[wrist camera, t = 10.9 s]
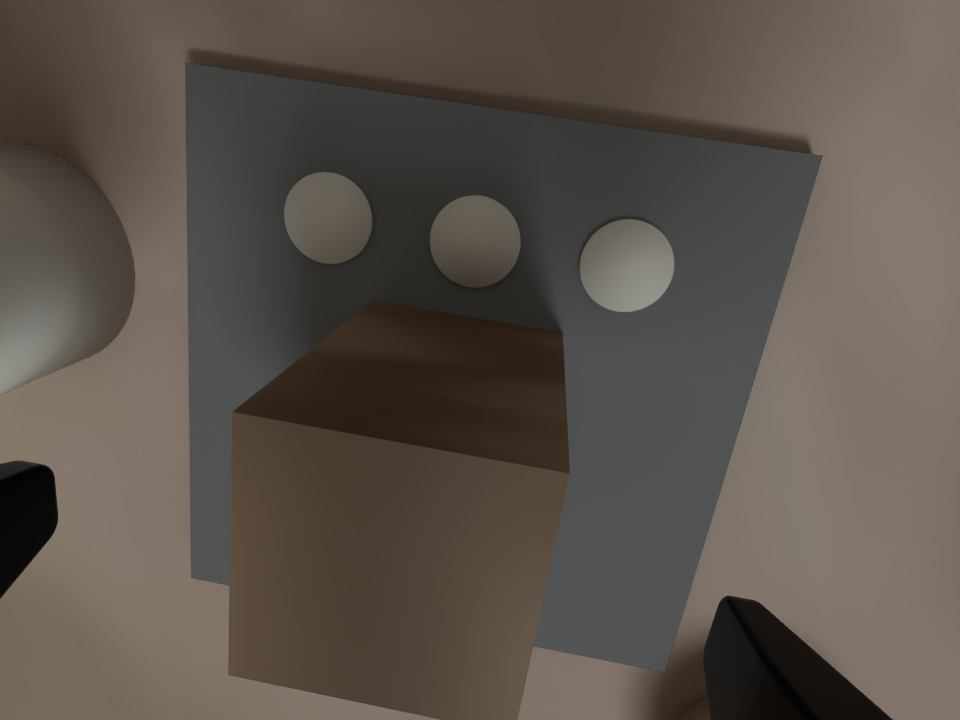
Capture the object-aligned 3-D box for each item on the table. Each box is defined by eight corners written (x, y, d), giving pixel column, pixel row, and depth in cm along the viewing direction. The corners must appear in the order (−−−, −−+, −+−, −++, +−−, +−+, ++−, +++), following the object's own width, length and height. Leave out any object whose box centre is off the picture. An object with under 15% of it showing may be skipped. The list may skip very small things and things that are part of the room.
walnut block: (563, 332, 13) (569, 473, 7) (530, 501, 14) (514, 734, 8) (373, 300, 13) (231, 411, 7) (357, 469, 14) (229, 674, 9)
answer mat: (813, 155, 12) (825, 155, 11) (662, 659, 15) (665, 675, 15) (196, 65, 12) (183, 61, 12) (199, 568, 16) (189, 580, 16)
